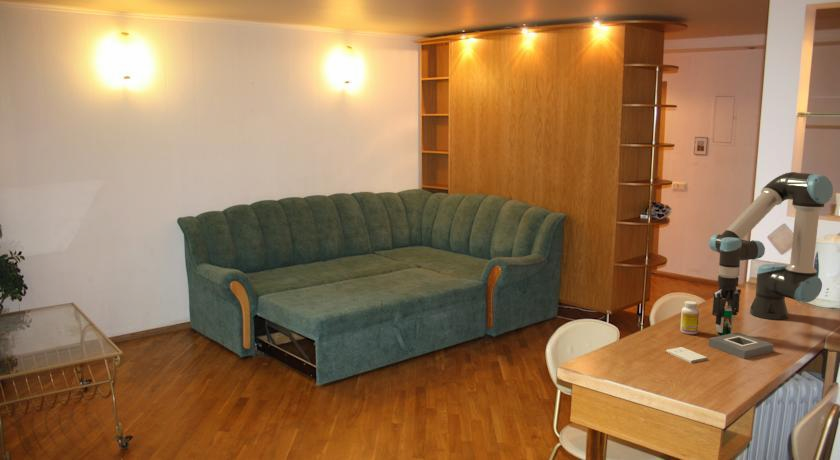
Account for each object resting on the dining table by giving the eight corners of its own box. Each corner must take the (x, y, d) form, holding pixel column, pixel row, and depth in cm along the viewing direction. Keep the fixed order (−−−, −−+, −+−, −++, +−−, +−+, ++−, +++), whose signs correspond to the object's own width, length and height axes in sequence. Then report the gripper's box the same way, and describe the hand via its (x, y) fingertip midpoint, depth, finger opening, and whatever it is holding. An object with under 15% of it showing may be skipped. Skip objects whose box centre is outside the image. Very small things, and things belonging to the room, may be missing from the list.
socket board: (736, 339, 264) (737, 331, 263) (772, 351, 250) (773, 343, 249) (708, 345, 257) (708, 337, 257) (744, 358, 243) (744, 350, 242)
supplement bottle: (698, 335, 269) (701, 305, 267) (681, 334, 270) (683, 304, 268) (695, 330, 276) (697, 300, 273) (678, 329, 277) (680, 299, 275)
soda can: (720, 332, 273) (722, 304, 271) (732, 334, 269) (734, 306, 267) (715, 335, 269) (717, 306, 267) (727, 337, 266) (730, 309, 264)
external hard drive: (690, 364, 240) (665, 353, 251) (707, 361, 243) (682, 350, 254) (691, 360, 239) (666, 349, 250) (707, 357, 242) (682, 346, 254)
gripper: (736, 271, 272) (731, 325, 276) (704, 276, 264) (700, 331, 268) (752, 275, 266) (747, 330, 270) (720, 280, 258) (716, 336, 262)
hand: (724, 330), depth 269 cm, fingers open, 5 cm apart
